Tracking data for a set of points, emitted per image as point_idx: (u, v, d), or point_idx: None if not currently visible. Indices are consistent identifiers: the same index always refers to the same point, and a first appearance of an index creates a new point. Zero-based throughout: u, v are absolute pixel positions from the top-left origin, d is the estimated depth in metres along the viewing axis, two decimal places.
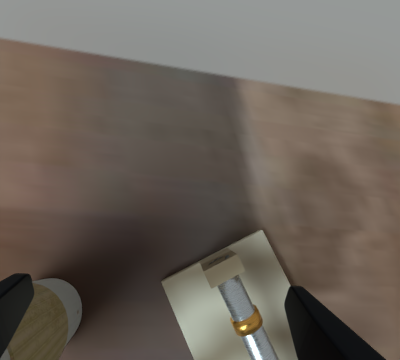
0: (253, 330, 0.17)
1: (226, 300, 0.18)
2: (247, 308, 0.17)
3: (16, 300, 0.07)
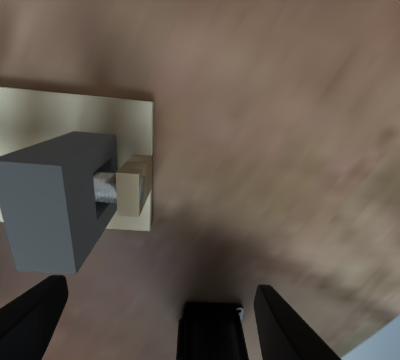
0: None
1: None
2: None
3: (54, 301, 0.07)
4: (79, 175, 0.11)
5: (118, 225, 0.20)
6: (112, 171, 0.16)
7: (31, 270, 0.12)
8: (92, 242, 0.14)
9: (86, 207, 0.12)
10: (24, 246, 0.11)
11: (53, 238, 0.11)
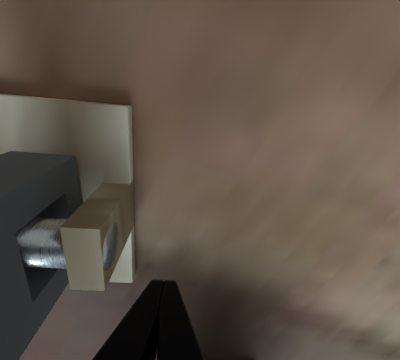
0: None
1: None
2: None
3: None
4: None
5: None
6: (69, 211, 0.11)
7: None
8: (22, 344, 0.08)
9: None
10: None
11: None
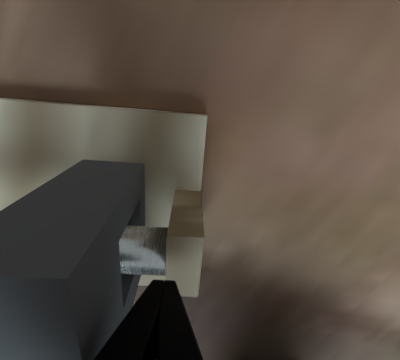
0: None
1: None
2: None
3: None
4: (100, 265, 0.06)
5: (149, 281, 0.15)
6: (140, 218, 0.11)
7: None
8: None
9: (109, 307, 0.07)
10: None
11: None
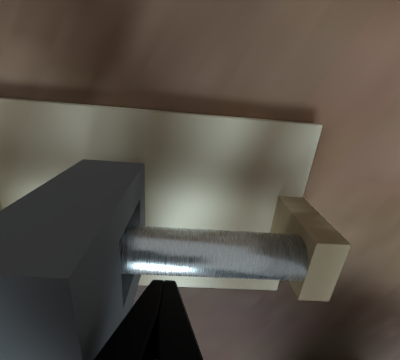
0: None
1: None
2: None
3: None
4: (100, 264, 0.06)
5: (237, 284, 0.15)
6: (140, 218, 0.11)
7: None
8: None
9: (110, 306, 0.07)
10: None
11: None
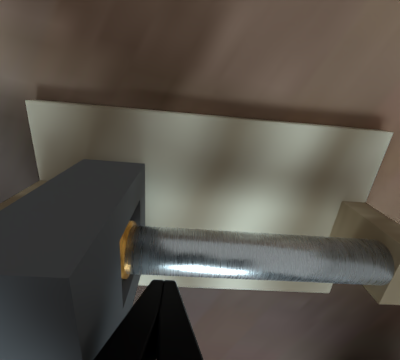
0: None
1: None
2: None
3: None
4: (101, 264, 0.06)
5: (291, 287, 0.15)
6: (140, 218, 0.11)
7: None
8: None
9: (109, 306, 0.07)
10: None
11: None
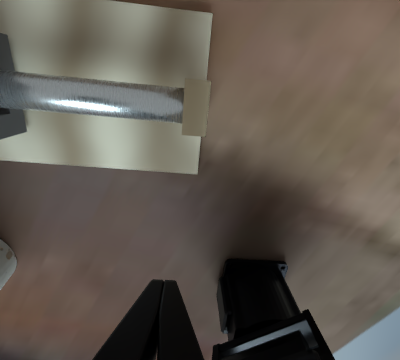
0: None
1: None
2: None
3: None
4: None
5: (163, 167, 0.18)
6: None
7: None
8: None
9: None
10: None
11: None
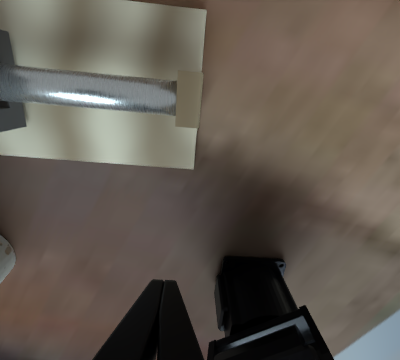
0: None
1: None
2: None
3: None
4: None
5: (160, 162, 0.18)
6: None
7: None
8: None
9: None
10: None
11: None
